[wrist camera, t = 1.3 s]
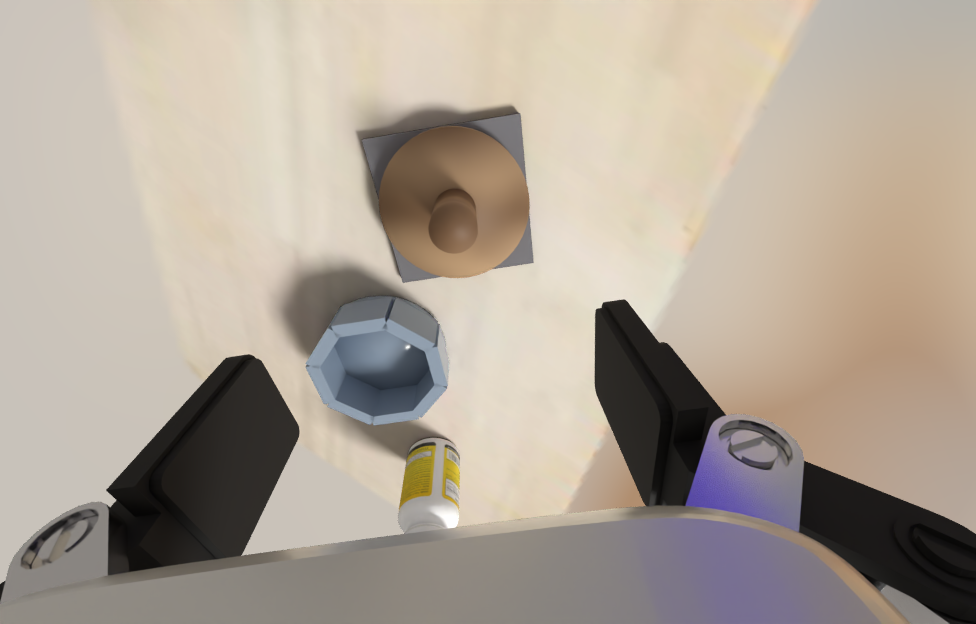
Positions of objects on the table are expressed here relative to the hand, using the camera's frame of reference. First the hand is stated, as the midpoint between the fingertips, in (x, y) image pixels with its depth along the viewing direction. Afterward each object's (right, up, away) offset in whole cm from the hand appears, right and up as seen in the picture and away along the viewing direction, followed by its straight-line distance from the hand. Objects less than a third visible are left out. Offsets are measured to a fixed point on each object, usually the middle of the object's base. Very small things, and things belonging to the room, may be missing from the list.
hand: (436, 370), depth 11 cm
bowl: (-7, -1, +22) cm, 23 cm away
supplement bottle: (-4, -13, +29) cm, 32 cm away
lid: (-1, +9, +15) cm, 18 cm away
